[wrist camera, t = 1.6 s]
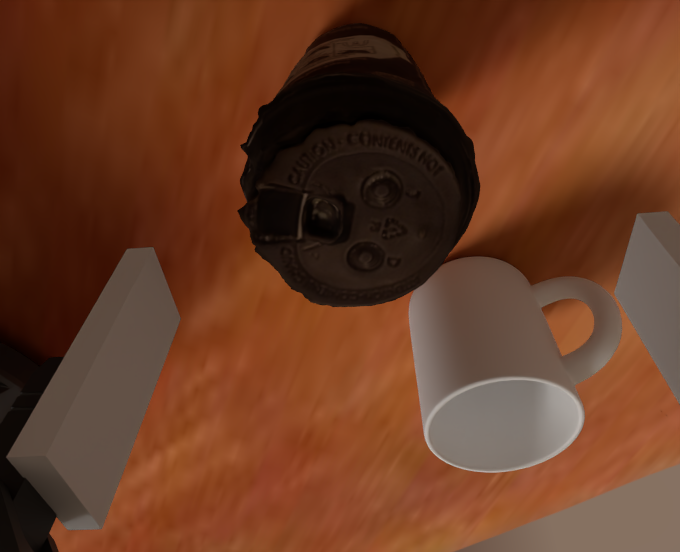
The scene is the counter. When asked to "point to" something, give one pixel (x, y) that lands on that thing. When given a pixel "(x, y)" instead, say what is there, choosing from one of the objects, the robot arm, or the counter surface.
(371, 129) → the coffee cup
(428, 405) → the mug
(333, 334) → the counter surface
